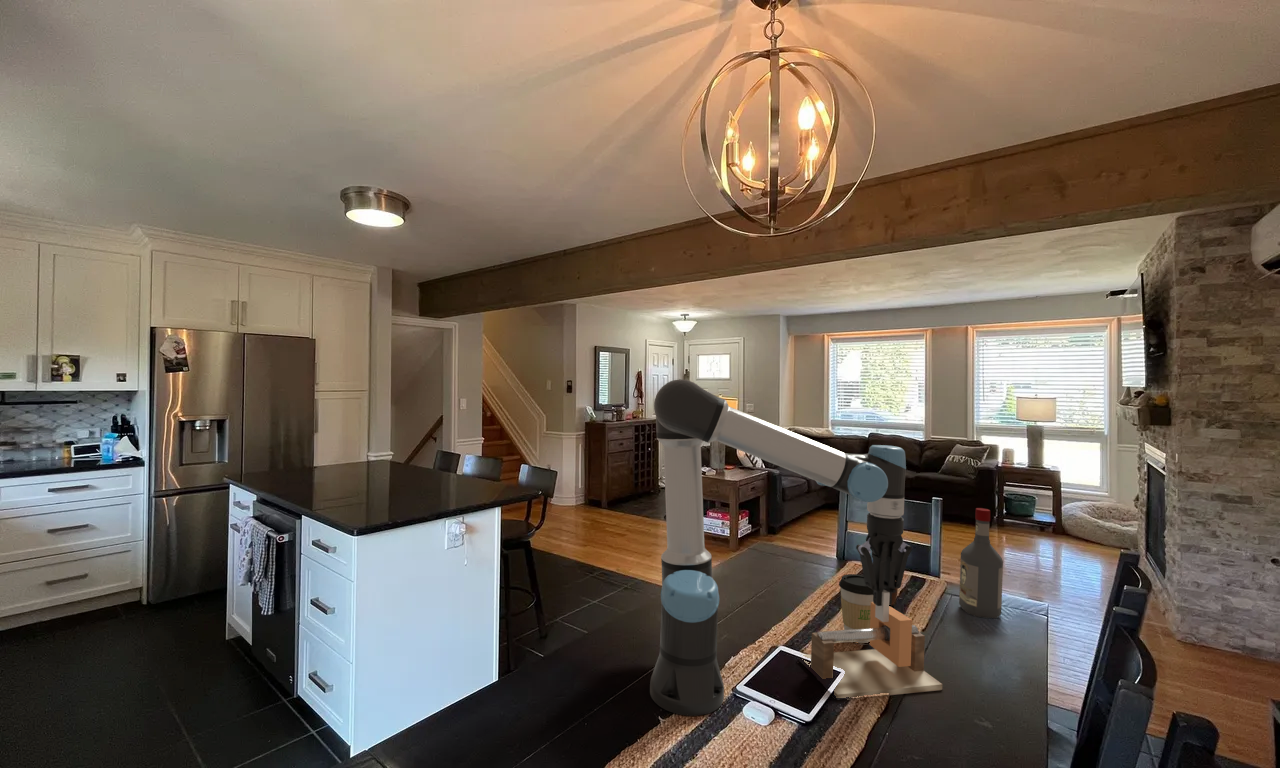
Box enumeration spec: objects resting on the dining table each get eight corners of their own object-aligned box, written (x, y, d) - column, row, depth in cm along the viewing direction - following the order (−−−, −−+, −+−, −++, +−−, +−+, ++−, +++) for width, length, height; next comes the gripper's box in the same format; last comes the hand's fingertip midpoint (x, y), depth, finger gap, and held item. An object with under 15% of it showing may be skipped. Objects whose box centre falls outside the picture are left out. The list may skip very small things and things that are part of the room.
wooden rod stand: (837, 700, 109) (838, 656, 109) (798, 660, 125) (799, 622, 125) (942, 689, 115) (943, 647, 115) (892, 652, 130) (893, 615, 130)
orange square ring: (898, 666, 116) (900, 620, 116) (869, 644, 126) (870, 602, 126) (910, 665, 116) (912, 619, 116) (880, 643, 126) (882, 601, 126)
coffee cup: (882, 650, 132) (884, 589, 132) (840, 644, 133) (842, 584, 134) (873, 632, 141) (875, 575, 141) (834, 627, 143) (836, 571, 143)
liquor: (989, 607, 161) (992, 507, 161) (1004, 620, 152) (1008, 514, 152) (956, 603, 162) (959, 505, 162) (969, 616, 153) (972, 511, 153)
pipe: (823, 648, 116) (824, 634, 116) (815, 641, 119) (816, 627, 119) (919, 641, 121) (920, 627, 121) (909, 634, 124) (910, 620, 124)
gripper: (870, 519, 116) (866, 628, 116) (922, 518, 118) (918, 624, 118) (849, 511, 123) (846, 613, 123) (899, 510, 126) (895, 610, 126)
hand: (881, 619), depth 121 cm, fingers closed
